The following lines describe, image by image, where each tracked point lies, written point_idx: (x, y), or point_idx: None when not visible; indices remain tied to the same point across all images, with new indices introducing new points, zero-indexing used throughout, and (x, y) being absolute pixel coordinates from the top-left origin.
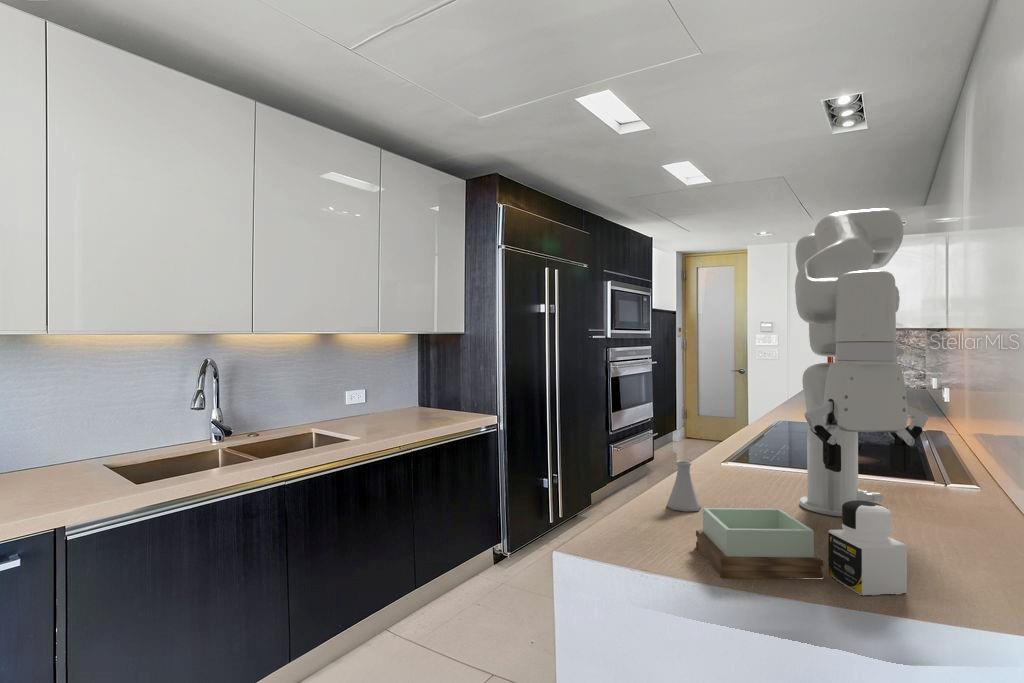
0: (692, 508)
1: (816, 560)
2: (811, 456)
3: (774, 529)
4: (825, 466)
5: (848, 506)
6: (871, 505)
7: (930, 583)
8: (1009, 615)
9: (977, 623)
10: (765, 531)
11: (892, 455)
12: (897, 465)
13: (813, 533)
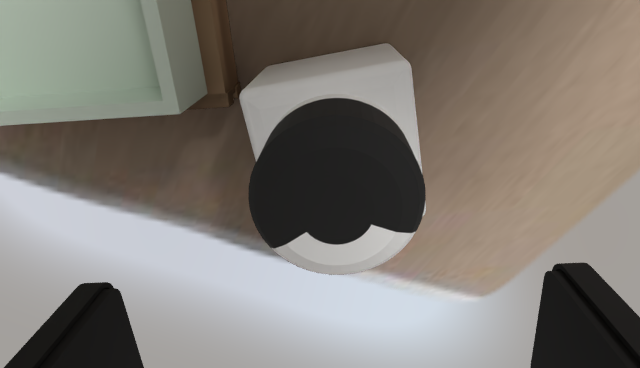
0: None
1: (211, 107)
2: None
3: (45, 115)
4: (84, 288)
5: (258, 216)
6: (346, 233)
7: (514, 91)
8: (550, 236)
9: (455, 269)
10: (17, 123)
11: (595, 364)
12: (551, 356)
13: (182, 111)
